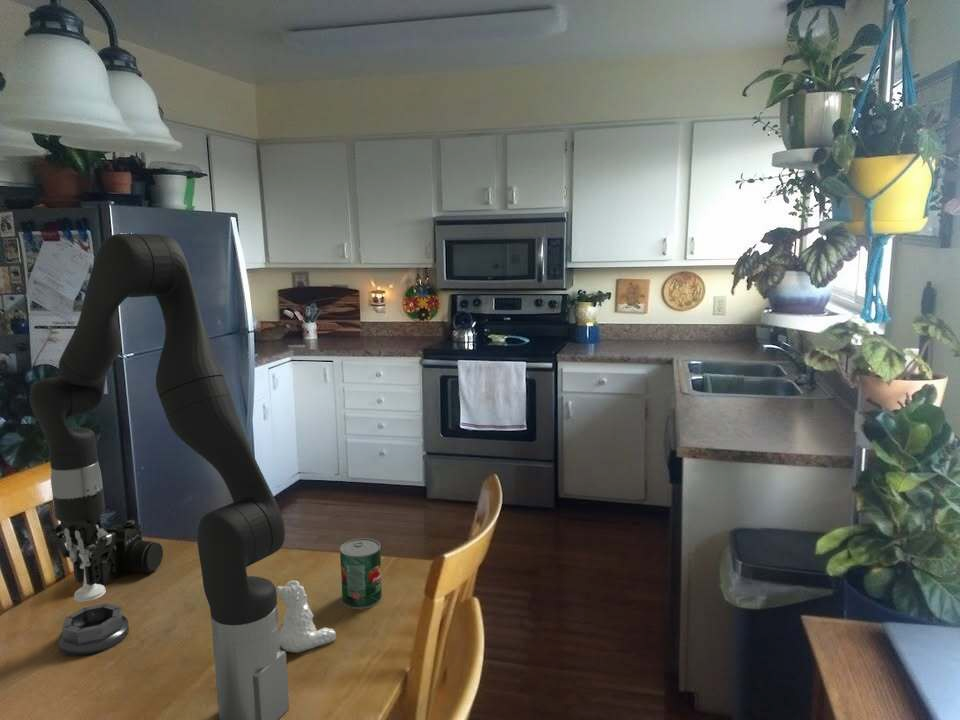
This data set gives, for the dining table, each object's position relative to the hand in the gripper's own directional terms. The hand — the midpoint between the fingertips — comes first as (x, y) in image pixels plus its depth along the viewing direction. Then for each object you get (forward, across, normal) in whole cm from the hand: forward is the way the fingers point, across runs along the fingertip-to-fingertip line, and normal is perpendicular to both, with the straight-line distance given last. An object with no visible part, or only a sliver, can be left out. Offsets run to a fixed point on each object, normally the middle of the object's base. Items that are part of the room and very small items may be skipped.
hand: (88, 581), depth 121 cm
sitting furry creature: (+11, +36, +12) cm, 40 cm away
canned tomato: (+11, +38, +29) cm, 49 cm away
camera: (+11, -14, +21) cm, 28 cm away
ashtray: (+11, 0, 0) cm, 11 cm away
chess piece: (+3, 0, 0) cm, 3 cm away
